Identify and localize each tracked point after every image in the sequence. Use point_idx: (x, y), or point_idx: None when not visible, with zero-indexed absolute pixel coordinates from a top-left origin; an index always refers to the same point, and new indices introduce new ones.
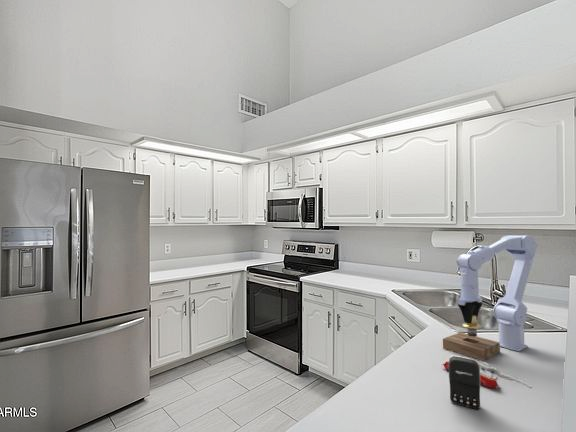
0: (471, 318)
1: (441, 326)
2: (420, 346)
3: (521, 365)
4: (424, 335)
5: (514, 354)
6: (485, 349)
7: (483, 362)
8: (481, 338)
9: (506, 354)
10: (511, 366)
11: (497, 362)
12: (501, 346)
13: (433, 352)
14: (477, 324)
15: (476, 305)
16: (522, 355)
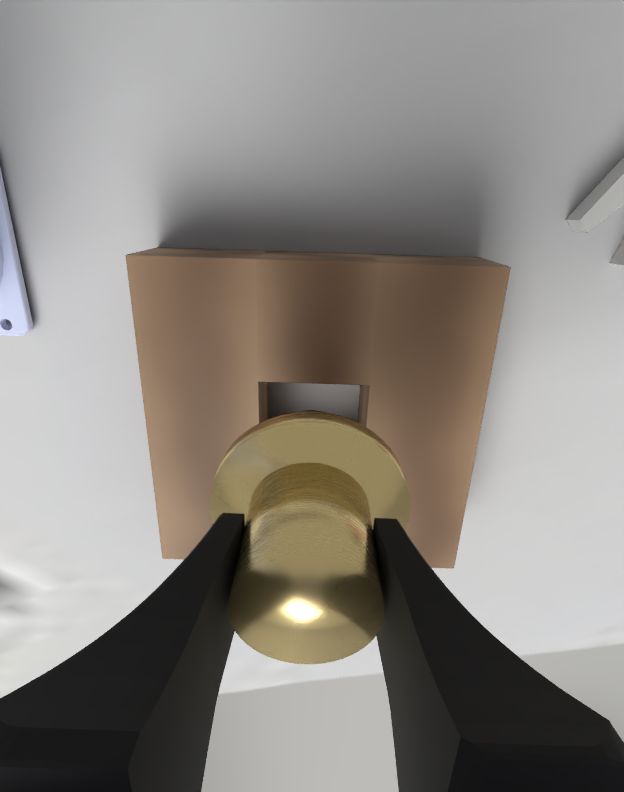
0: (412, 557)
1: (8, 685)
2: (517, 604)
3: (331, 3)
4: (291, 668)
5: (98, 146)
6: (465, 265)
7: (602, 220)
8: (169, 401)
9: (163, 193)
10: (429, 59)
11: (425, 175)
12: (23, 282)
13: (568, 522)
14: (227, 480)
15: (163, 754)
16: (55, 87)
